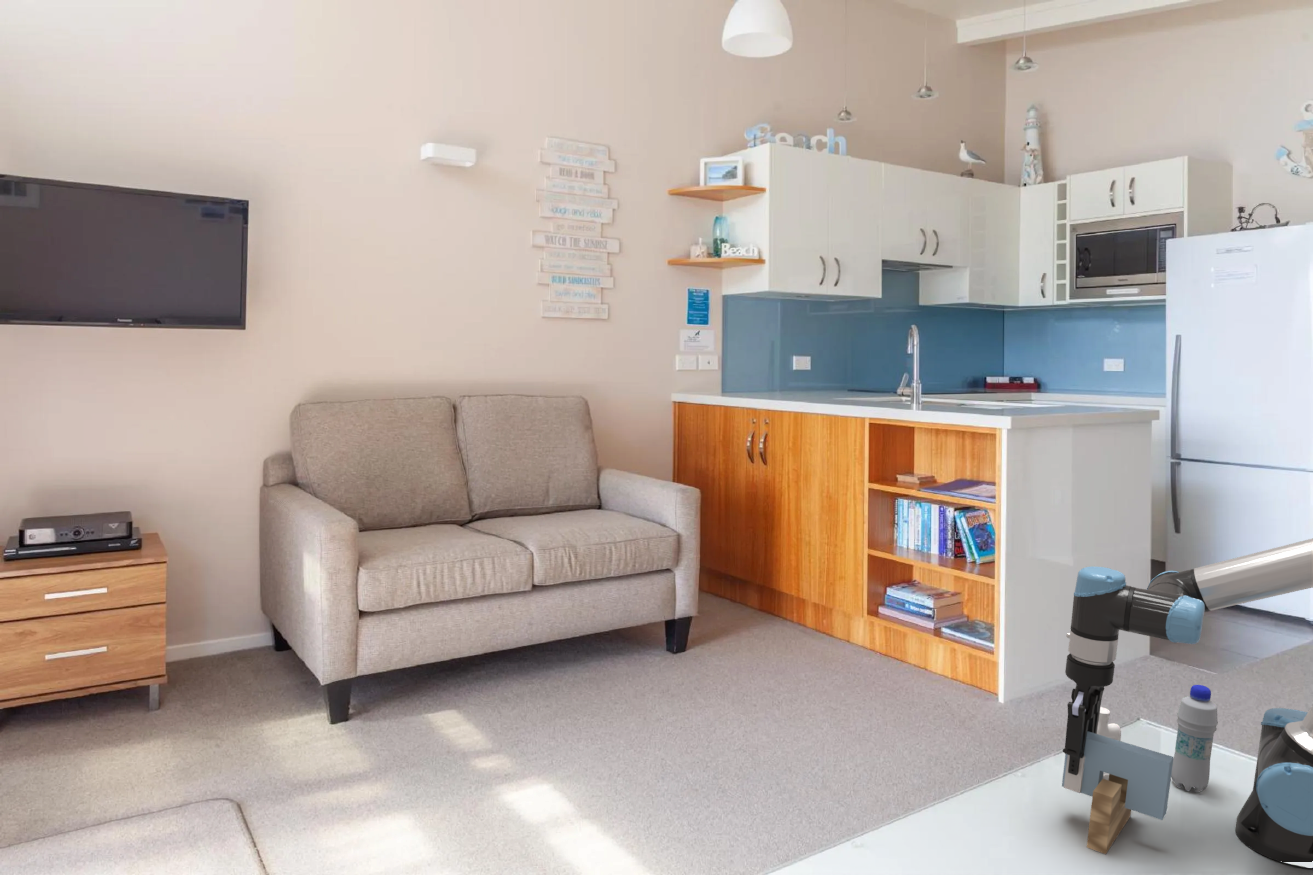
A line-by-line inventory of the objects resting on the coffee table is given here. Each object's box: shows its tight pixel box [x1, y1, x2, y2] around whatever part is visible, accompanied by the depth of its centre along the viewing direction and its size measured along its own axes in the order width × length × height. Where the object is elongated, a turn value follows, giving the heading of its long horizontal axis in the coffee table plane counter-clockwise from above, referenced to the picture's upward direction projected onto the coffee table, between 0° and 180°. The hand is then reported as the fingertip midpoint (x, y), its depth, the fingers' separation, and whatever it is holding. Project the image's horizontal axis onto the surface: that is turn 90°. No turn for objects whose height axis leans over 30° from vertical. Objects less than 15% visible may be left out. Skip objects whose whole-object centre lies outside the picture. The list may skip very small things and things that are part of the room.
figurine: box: [1097, 705, 1122, 780], centre depth 183 cm, size 7×9×15 cm
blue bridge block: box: [1061, 731, 1174, 821], centre depth 166 cm, size 16×3×10 cm, turn 51°
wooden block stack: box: [1086, 774, 1132, 855], centre depth 167 cm, size 3×16×10 cm, turn 141°
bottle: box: [1171, 684, 1218, 793], centre depth 184 cm, size 7×7×20 cm
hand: (1075, 785), depth 171 cm, fingers closed on blue bridge block, 3 cm apart
